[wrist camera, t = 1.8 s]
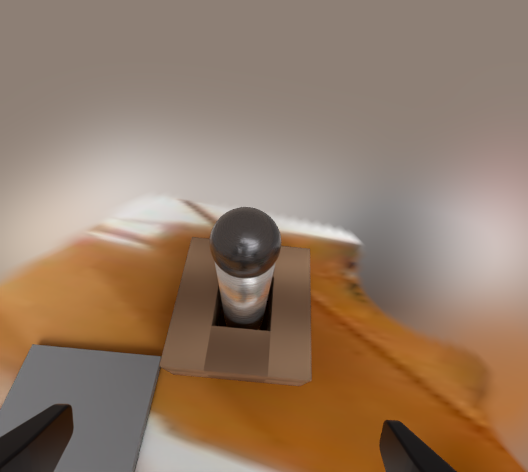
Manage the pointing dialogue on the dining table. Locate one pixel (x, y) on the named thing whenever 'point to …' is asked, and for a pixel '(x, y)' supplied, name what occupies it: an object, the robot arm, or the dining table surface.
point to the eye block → (236, 339)
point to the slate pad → (87, 402)
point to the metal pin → (245, 264)
